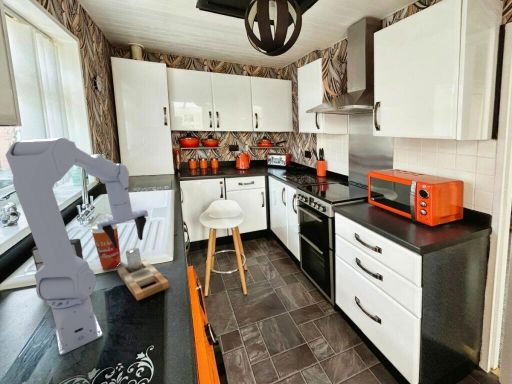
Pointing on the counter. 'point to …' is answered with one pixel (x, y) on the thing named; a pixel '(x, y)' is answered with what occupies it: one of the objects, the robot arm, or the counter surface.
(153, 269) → the wooden slotted board
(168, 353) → the counter surface
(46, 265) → the robot arm
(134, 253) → the peg
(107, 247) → the coffee cup
